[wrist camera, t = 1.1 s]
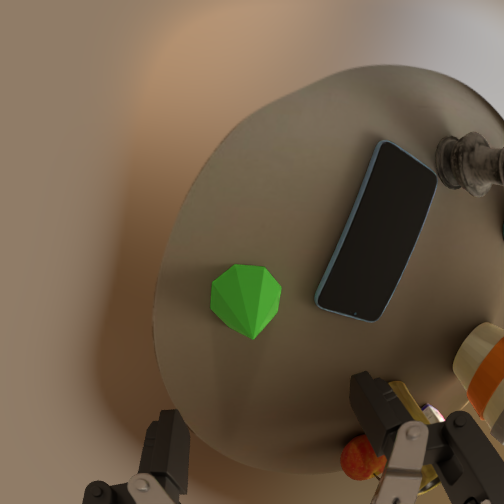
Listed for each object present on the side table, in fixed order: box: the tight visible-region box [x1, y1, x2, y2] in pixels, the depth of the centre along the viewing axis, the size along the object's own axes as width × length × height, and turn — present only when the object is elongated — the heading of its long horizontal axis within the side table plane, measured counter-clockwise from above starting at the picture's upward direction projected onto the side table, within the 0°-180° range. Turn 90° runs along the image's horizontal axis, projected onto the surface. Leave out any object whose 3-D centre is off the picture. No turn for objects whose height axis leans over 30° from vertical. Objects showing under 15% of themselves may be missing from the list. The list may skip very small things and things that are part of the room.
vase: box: [388, 381, 441, 496], centre depth 21 cm, size 6×6×14 cm
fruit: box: [340, 434, 387, 480], centre depth 27 cm, size 7×7×8 cm
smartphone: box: [314, 140, 438, 322], centre depth 22 cm, size 7×1×15 cm
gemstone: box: [210, 264, 282, 340], centre depth 20 cm, size 6×6×6 cm
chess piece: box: [436, 132, 504, 197], centre depth 15 cm, size 6×6×12 cm
